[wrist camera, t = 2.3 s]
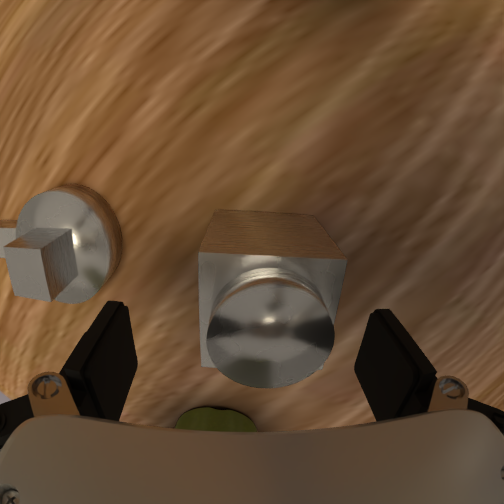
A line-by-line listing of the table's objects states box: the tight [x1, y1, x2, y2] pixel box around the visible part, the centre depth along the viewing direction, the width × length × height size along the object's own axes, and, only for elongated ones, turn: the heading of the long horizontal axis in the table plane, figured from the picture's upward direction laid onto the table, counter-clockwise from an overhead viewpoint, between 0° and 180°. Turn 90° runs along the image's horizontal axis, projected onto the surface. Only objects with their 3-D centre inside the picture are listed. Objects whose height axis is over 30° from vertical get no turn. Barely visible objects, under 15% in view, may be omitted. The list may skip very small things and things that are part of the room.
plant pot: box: [174, 407, 257, 432], centre depth 19 cm, size 12×12×11 cm
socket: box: [198, 210, 347, 388], centre depth 14 cm, size 6×6×8 cm
